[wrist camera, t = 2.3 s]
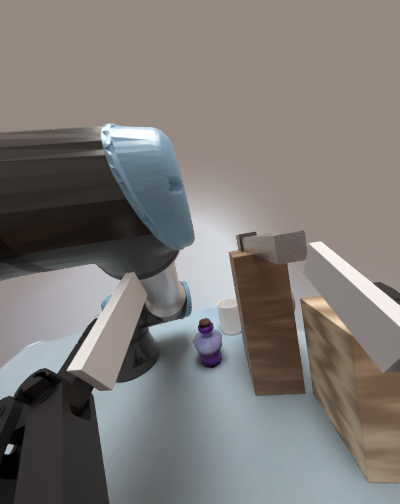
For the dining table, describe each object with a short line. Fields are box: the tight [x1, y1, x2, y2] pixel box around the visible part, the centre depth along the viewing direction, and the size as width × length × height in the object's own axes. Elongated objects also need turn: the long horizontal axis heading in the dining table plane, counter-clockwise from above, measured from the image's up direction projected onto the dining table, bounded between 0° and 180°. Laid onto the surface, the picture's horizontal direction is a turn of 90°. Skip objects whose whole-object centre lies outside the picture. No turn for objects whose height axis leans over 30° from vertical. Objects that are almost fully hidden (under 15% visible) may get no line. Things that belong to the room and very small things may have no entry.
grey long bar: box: [236, 231, 307, 264], centre depth 32 cm, size 26×4×4 cm, turn 176°
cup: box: [217, 299, 242, 335], centre depth 58 cm, size 8×12×10 cm
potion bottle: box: [193, 318, 222, 368], centre depth 45 cm, size 9×9×12 cm
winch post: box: [229, 251, 305, 396], centre depth 39 cm, size 14×13×30 cm
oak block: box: [300, 296, 400, 483], centre depth 25 cm, size 12×9×20 cm
